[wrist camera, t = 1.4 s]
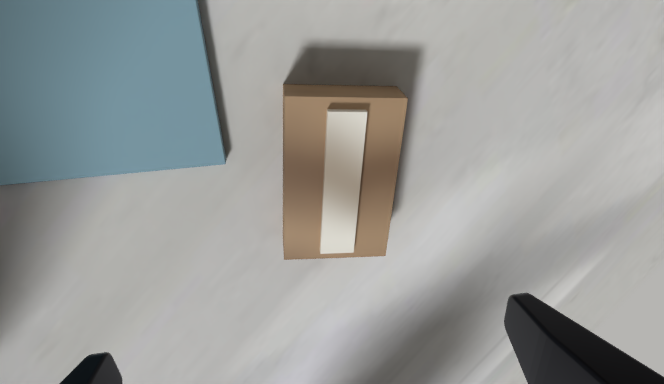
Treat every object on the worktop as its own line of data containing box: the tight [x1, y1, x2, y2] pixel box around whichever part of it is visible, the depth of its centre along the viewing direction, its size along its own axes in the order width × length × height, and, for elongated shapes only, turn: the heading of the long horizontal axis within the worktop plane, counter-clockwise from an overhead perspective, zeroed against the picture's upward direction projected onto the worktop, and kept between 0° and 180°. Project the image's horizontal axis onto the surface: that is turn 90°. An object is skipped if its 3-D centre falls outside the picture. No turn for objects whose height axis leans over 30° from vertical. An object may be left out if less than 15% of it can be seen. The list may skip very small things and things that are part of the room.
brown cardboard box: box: [283, 84, 408, 260], centre depth 20 cm, size 8×5×2 cm, turn 177°
